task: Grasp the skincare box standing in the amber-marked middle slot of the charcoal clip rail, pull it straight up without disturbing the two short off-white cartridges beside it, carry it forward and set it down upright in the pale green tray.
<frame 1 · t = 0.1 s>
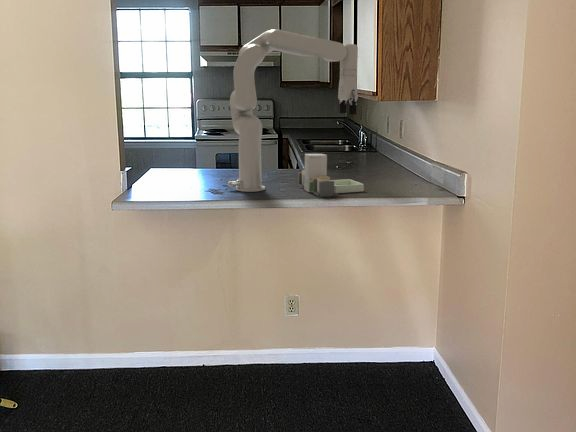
hand: (347, 113, 270), 31 cm above the worktop, tool pointing down, fingers open, 9 cm apart
clip rail: (315, 190, 259), on the worktop
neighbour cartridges: (315, 190, 259), on the worktop
tray: (343, 189, 263), on the worktop
skincare box: (315, 191, 260), on the worktop
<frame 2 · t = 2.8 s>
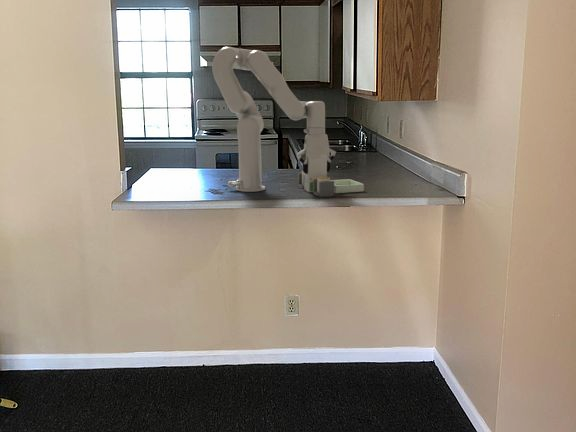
hand: (316, 172, 258), 8 cm above the worktop, tool pointing down, fingers open, 9 cm apart
nothing on the worktop moved.
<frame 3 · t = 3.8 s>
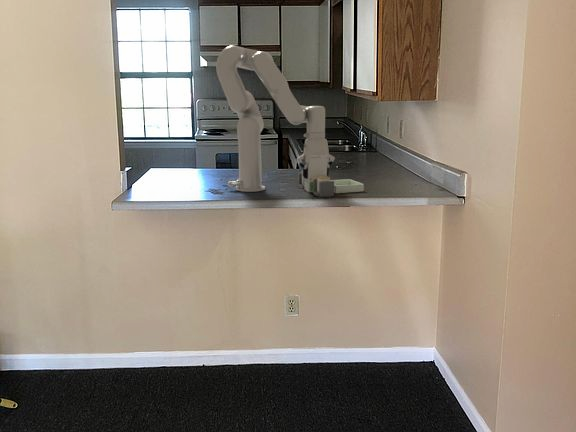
hand: (315, 177, 258), 6 cm above the worktop, tool pointing down, fingers closed on skincare box, 8 cm apart
skincare box: (315, 191, 260), on the worktop, touching gripper
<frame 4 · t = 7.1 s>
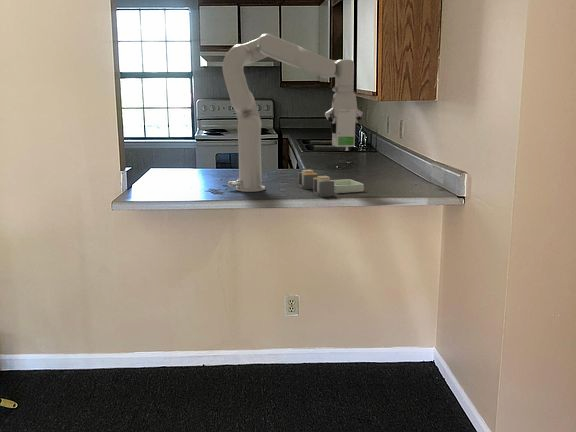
hand: (343, 132, 257), 24 cm above the worktop, tool pointing down, fingers closed on skincare box, 8 cm apart
skincare box: (343, 146, 258), point 18 cm above the worktop, touching gripper
when the fingers open (8 cm above the worktop, at t = 10.6 s): skincare box drops 2 cm, resting on tray.
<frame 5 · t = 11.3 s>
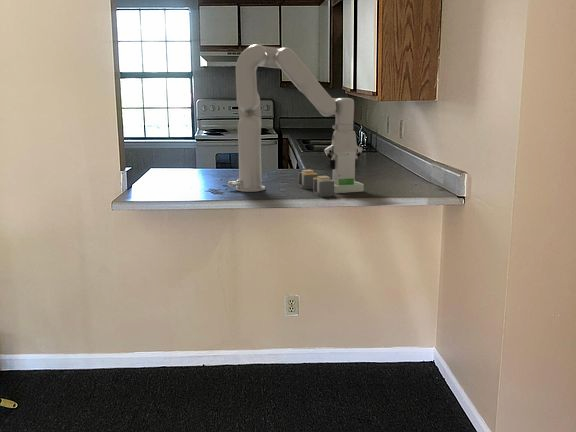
hand: (343, 168, 261), 9 cm above the worktop, tool pointing down, fingers open, 9 cm apart
skincare box: (343, 187, 263), point 1 cm above the worktop, touching gripper, tray
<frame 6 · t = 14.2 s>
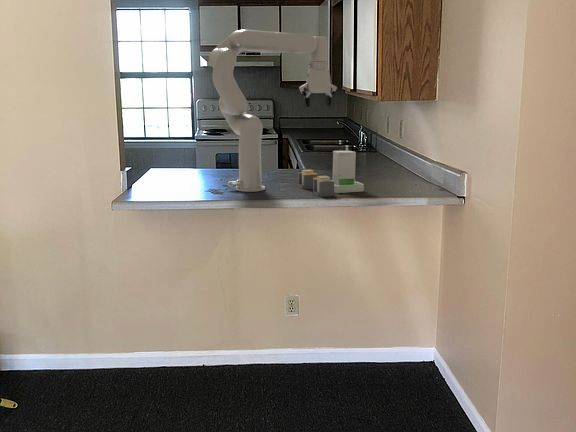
hand: (318, 106, 268), 34 cm above the worktop, tool pointing down, fingers open, 9 cm apart
skincare box: (343, 187, 263), point 1 cm above the worktop, touching tray
at the end: skincare box inside the target area on the tray (0.4 cm from its centre), point 0.6 cm above the tray's base; skincare box tilted 0°; the gripper is holding nothing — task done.
